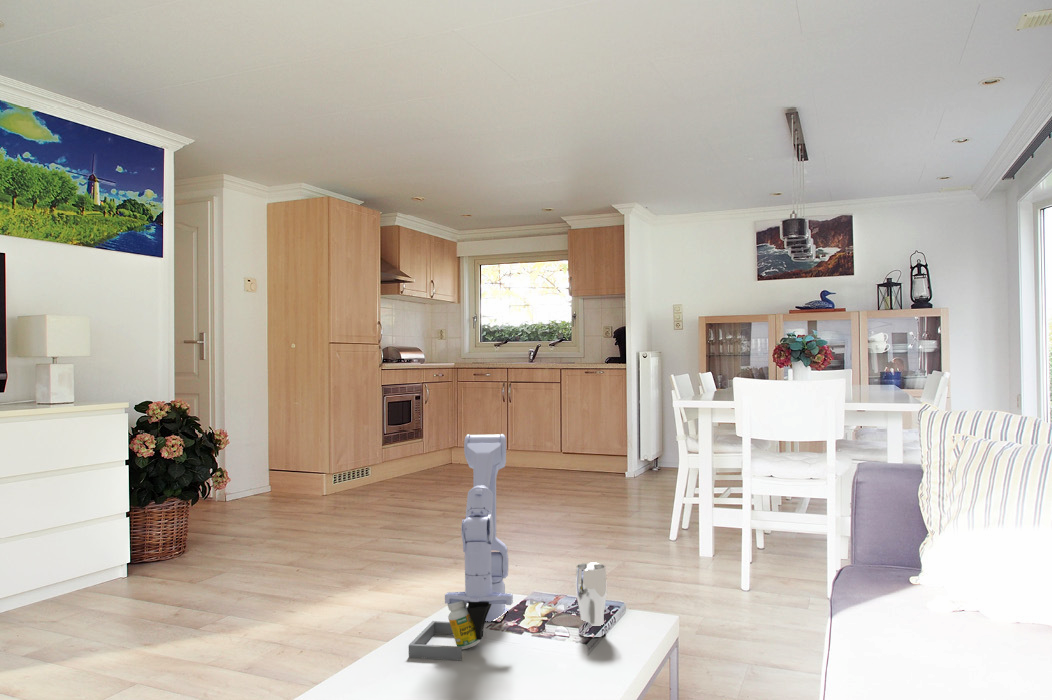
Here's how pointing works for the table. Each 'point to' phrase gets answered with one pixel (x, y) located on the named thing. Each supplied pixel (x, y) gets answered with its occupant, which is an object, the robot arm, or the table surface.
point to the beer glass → (591, 592)
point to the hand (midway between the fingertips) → (479, 638)
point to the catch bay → (434, 651)
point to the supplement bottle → (462, 625)
